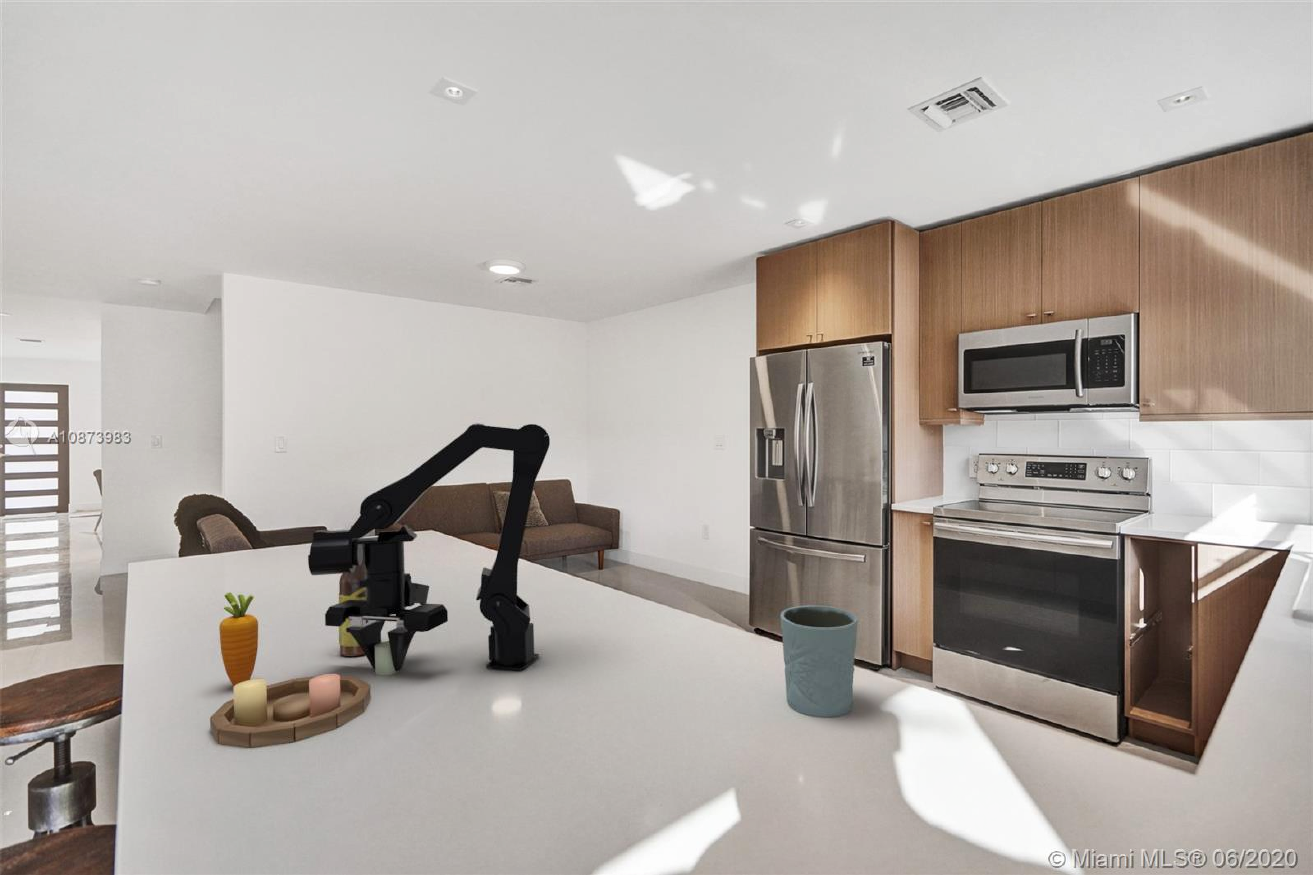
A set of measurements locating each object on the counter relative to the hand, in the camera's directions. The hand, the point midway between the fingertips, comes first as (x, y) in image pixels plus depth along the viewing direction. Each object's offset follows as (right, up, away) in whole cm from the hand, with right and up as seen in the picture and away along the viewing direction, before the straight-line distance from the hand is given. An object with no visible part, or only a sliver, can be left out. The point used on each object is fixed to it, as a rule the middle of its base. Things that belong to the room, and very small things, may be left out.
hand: (387, 669), depth 100 cm
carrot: (-20, -2, -5) cm, 21 cm away
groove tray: (-6, -1, -15) cm, 16 cm away
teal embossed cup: (+64, 0, -15) cm, 66 cm away
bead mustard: (-10, -1, -17) cm, 20 cm away
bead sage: (0, -1, 0) cm, 1 cm away
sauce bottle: (-10, -2, +12) cm, 16 cm away
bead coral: (-1, 0, -16) cm, 16 cm away
